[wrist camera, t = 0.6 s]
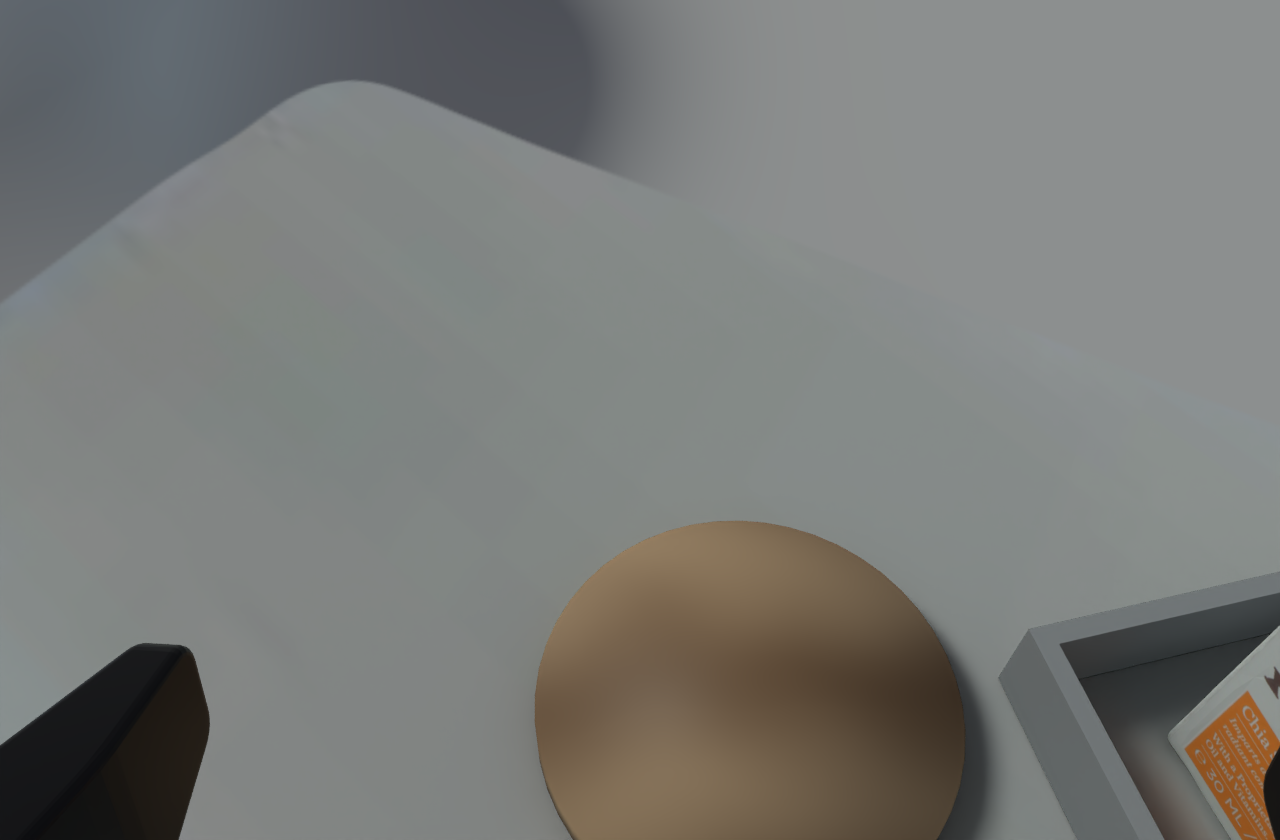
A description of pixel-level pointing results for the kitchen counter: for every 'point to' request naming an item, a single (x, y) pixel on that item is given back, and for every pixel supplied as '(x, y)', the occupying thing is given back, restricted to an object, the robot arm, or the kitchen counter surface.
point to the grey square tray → (1073, 649)
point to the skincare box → (1236, 741)
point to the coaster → (747, 696)
